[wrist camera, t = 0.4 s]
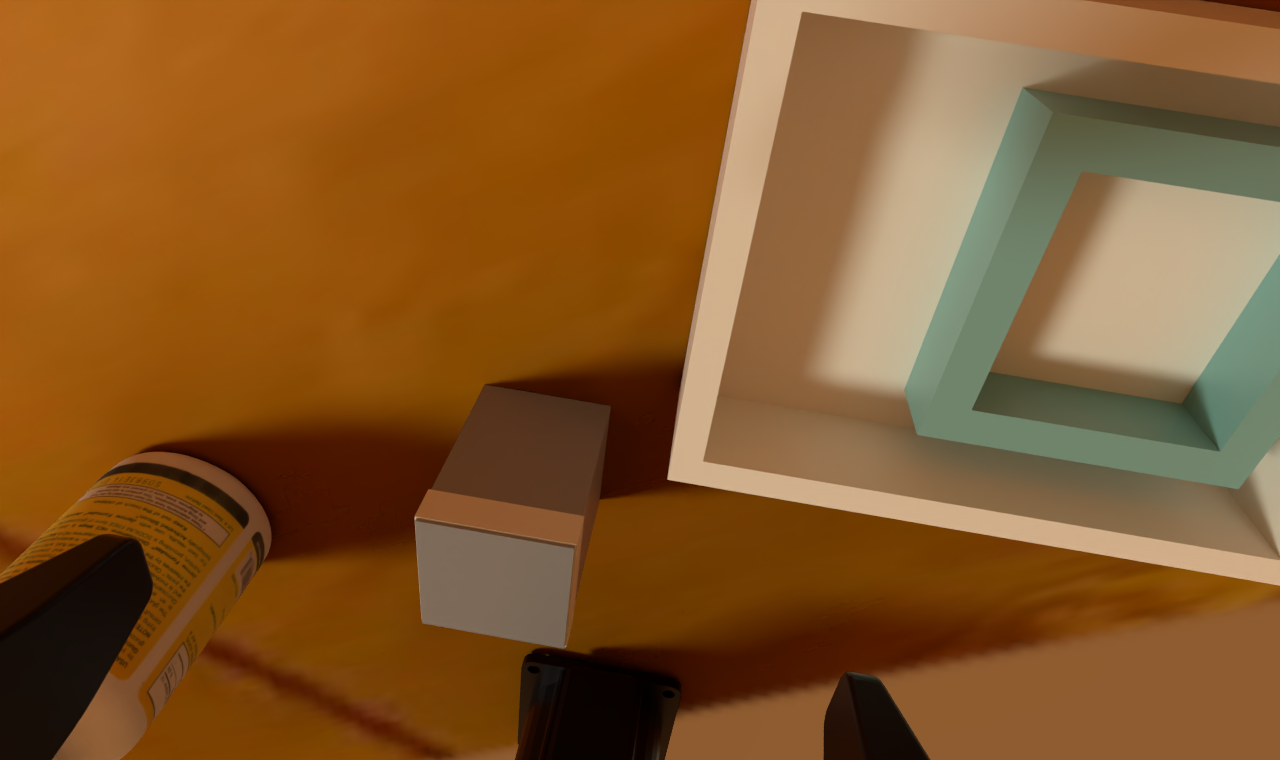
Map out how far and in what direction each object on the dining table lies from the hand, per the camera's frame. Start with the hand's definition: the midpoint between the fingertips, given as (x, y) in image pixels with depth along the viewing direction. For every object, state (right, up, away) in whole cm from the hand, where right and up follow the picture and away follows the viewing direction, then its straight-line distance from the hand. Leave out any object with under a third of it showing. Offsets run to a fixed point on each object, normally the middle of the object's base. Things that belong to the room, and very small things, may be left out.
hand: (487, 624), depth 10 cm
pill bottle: (-15, -2, +19) cm, 24 cm away
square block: (-1, +1, +15) cm, 15 cm away
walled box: (+12, +6, +10) cm, 16 cm away
